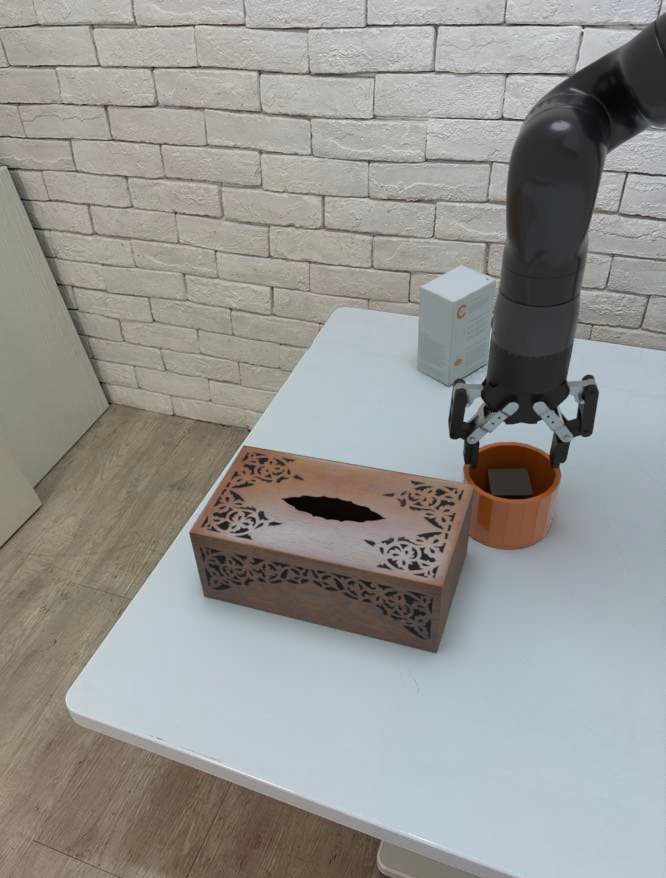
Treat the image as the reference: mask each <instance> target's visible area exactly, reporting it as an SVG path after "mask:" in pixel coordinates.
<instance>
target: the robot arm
mask: <svg viewBox="0 0 666 878" xmlns="http://www.w3.org/2000/svg"><path fill="white" fill-rule="evenodd" d="M652 127H654V128H658V129H666V11H665V12H663V13H662V14H660V15H659V16H657V18H656V19H654V20H653V21H651V22H650V23H649V24H648V25H647V26H645V27H644V28H643V29H642V30H641V31H640V32H639V33H637V34H636V35H635V36H634V37H633V38H631V39H630V40H629V41H626V42H625V43H624V44H622V45H621V46H619V47H617V48H615V49H614V50H612V51H610V52H608V53H606V54H605V55H603V56H601V57H599V58H598V59H595V61H593V62H591V63H589V64H587V65H586V66H584V67H583V68H581V69H579V70H578V71H577V72H574V73H573V74H572V75H570V76H569V77H567V78H566V79H564V80H563V81H561V82H560V83H558V84H557V85H555V86H554V87H553V88H552V89H550V90H549V91H548V92H547V93H546V94H544V95H543V96H542V97H541V98H540V99H539V100H537V101H536V103H535V104H534V105H533V106H532V107H531V109H530V110H529V111H528V113H527V115H525V118H524V120H523V122H522V124H521V127H520V129H519V132H518V134H517V136H516V138H515V141H514V143H513V145H512V146H513V147H512V149H511V153H510V157H509V160H508V161H509V162H508V170H507V178H506V191H505V192H506V193H505V194H506V195H505V227H506V229H505V230H506V236H505V241H504V246H503V251H502V261H501V269H500V277H499V285H498V292H497V294H496V295H497V296H496V298H495V301H494V306H493V314H492V321H491V333H490V342H489V352H488V362H487V370H486V376H485V377H484V379H483V381H482V382H481V383H466V379H463V378H462V379H461V378H459V379H456V380H455V381H454V383H453V384H452V391H451V397H450V405H449V412H448V419H447V425H448V436H449V438H450V439H451V440H459V439H461V440H463V448H462V456H463V462H464V464H469V465H470V469H477V464H478V454H479V448H480V445H481V443H480V440H481V439H482V438H483V437H485V435H486V434H488V433H492V432H493V431H494V430H496V429H497V428H498V427H499V426H500V425H501V424H502V423H504V425H506V426H507V425H516V424H527V425H537V424H538V422H542V421H543V422H544V423H545V424H546V426H547V427H548V428H549V429H550V431H552V432H553V433H552V438H551V444H550V450H549V453H548V454H549V459H550V464H551V468H559V467H560V466H561V464H565V462H566V461H567V460H568V456H569V455H568V454H569V450H570V447H571V446H570V444H571V442H572V440H573V439H574V438H577V437H581V438H582V437H583V438H589V437H591V436H592V435H593V432H594V428H595V422H596V414H597V408H598V401H599V396H600V391H599V388H598V384H597V381H596V378H595V376H594V375H593V374H586V375H584V376H583V377H582V378H581V380H571V381H568V375H569V369H570V366H571V365H570V364H571V359H572V354H573V350H574V344H575V339H576V333H577V329H578V323H579V317H580V311H581V310H580V309H581V293H582V287H583V281H584V276H585V272H586V271H585V270H586V266H587V259H588V253H589V238H590V237H589V230H590V226H591V222H592V218H593V215H594V211H595V206H596V202H597V198H598V193H599V189H600V186H601V182H602V176H603V173H604V168H605V164H606V158H607V155H609V154H610V153H611V152H613V151H614V150H615V149H616V148H619V147H620V146H622V145H623V144H624V143H626V142H628V141H630V140H631V139H633V138H635V137H636V136H639V135H640V134H641V133H643V132H645V131H647V130H649V129H650V128H652ZM569 395H571V396H573V397H574V398H573V399H574V401H575V402H576V403H577V410H576V417H575V418H573V419H568V418H567V416H566V415H565V414H564V413H563V411H562V410H561V407H560V405H562V404H563V402H564V401H566V400H567V398H568V397H569ZM478 398H481V400H482V402H483V403H481V404H480V406H479V407H478V409H477V411H476V413H475V414H474V415H473V416H472V417H471V418H469V420H467V421H464V419H465V413H466V408H470V407H471V405H473V404H474V401H475V400H476V399H478Z"/></svg>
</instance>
